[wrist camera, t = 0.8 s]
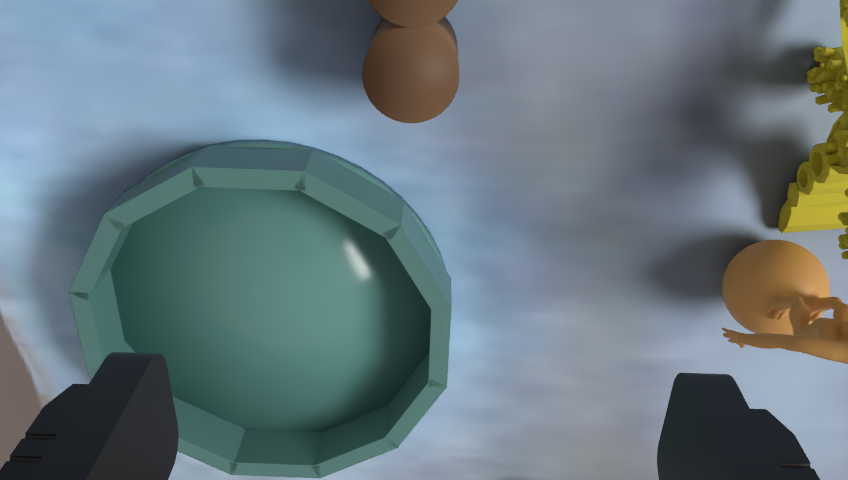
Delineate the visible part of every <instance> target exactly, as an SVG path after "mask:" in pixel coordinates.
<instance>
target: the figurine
mask: <svg viewBox="0 0 848 480" xmlns="http://www.w3.org/2000/svg"><path fill="white" fill-rule="evenodd" d="M722 293H723V298H724V302H725V304H726V307H727V309H728V311H729V312H730V314H731V315H732V316H733V318H734V319H735V320H736V321H737V322H738V323H739V324H741V325H742V326H743V327H745V328H746V329H748V330H750V331H752V332H754V333H756V334H744V333H739V332H736V331H733V330H728V329H725V328H722V329H723V330H724V331H725V332H726V333H724V334H723V336H724V337H727V338H730V340H728V341H729V342H732V343H737V344H738V345H740V348H743V347H744V344H746V345H751V346H754V347H759V348H768V349H771V348H782V349H786V350H790V351H797V352H802V353H807V354H810V355H813V356H816V357H820V358H824V359H827V360H831V361H837V362H842V363H846V364H848V305H847V304H844V303H843V302H842V301H841V300H840V299H839V298H837V297H829V296H830V284H829V279H828V276H827V273H826V271H825V269H824V267H823V265H822V264H821V262H820V261H819V260H818V259H817V258H816V257H815V256H814V255H813V254H812V253H811V252H810V251H808V250H807V249H805V248H804V247H802V246H800V245H797V244H795V243H792V242H788V241H783V240H766V241H761V242H757V243H754V244H752V245H750V246H748V247H746V248H744V249H743V250H741V251H740V252H739V253H738V254H737V255H735V257H734V258H733V259H732V260H731V261H730V263H729V264H728V266H727V268H726V270H725V273H724V276H723V282H722ZM829 309H834V313H833V317H834V319H831V318H829V319H828V318H820V317H821V316H822V315H823V313H824V311H826V310H829Z"/></svg>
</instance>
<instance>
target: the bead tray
mask: <svg viewBox="0 0 848 480" xmlns="http://www.w3.org/2000/svg"><path fill="white" fill-rule="evenodd" d="M69 296H70V300H71V304H72V309H73V313H74V317H75V321H76V326H77V330H78V334H79V339H80V343H81V347H82V351H83V356H84V360H85V364H86V369H87V373H88V375H89V376H90V377H91V378H93V377H94V375H95V374H96V372H97V370H98V369H99V367H100V366H101V364H102V363H103V361H104V359H105V358H106V357H107V356H108V355H109V354H110V353H112V352H128V353H158V354H162V355H163V357H164V358H165V361H166V364H167V369H168V374H169V380H170V385H171V390H172V396H173V401H174V407H175V412H176V417H177V423H178V431H179V439H178V449H177V451H178V452H180V453H183V454H185V455H187V456H189V457H192V458H194V459H196V460H199V461H201V462H203V463H205V464H208V465H210V466H212V467H215V468H217V469H219V470H221V471H224V472H226V473H228V474H231V475H250V476H276V477H302V478H322V477H324V476H327V475H329V474H332V473H335V472H337V471H340V470H342V469H345V468H347V467H350V466H352V465H355V464H357V463H360V462H363V461H365V460H368V459H370V458H373V457H375V456H378V455H380V454H383V453H386V452H388V451H391V450H393V449H396V448H398V447H399V445H400V444H401V443H402V442H403V440H404V439H405V438H406V437H407V436H408V434H409V433H410V432H411V431H412V429H413V428H414V427H415V426H416V424H417V423H418V422H419V421H420V419H421V418H422V417H423V416H424V415H425V413H426V412H427V411H428V410H429V408H430V407H431V406H432V405H433V403H434V402H435V401H436V400H437V398H438V397H439V396H440V395H441V394H442V392H443V391H444V390H445V389H446V387H447V374H448V355H449V337H450V321H451V278H450V276H449V274H448V273H447V271H446V268H445V265H444V262H443V259H442V256H441V253H440V251H439V249H438V247H437V245H436V243H435V241H434V239H433V237H432V235H431V233H430V232H429V230H428V229H427V227H426V226H425V225H424V223H423V222H422V220H421V219H420V217H419V216H418V215H417V213H416V212H415V211H414V210H413V209H412V208H411V207H410V206H409V205H408V204H407V202H406V201H405V200H404V199H403V198H402V197H401V196H400V195H399V194H397V193H396V192H395V191H394V190H393V189H391V188H390V187H389V186H388V185H387V184H385V183H384V182H383V181H382V180H380V179H379V178H377V177H376V176H374V175H372V174H371V173H369V172H368V171H366V170H365V169H363V168H362V167H360V166H358V165H355V164H353V163H351V162H349V161H347V160H345V159H343V158H341V157H339V156H336V155H334V154H331V153H328V152H325V151H322V150H319V149H316V148H313V147H308V146H304V145H299V144H295V143H290V142H281V141H270V140H240V141H232V142H226V143H219V144H213V145H210V146H207V147H203V148H200V149H197V150H193V151H190V152H188V153H186V154H184V155H181V156H179V157H177V158H175V159H173V160H170V161H169V162H167V163H166V164H164V165H162V166H161V167H159V168H158V169H156V170H155V171H153V172H152V173H150V174H149V175H148V176H147V177H146V178H145V179H144V180H142V181H141V182H140V183H139V184H137V185H135V186H133V187H131V188H130V189H128V190H126V191H125V192H124V193H123V194H122V195H121V196H120V197H119V198H118V199H117V201H116V202H115V203H114V204H113V205H112V206H111V207H110V208H109V209H108V210H107V211H106V213H105V214H104V216H103V218H102V220H101V222H100V224H99V227H98V229H97V231H96V233H95V235H94V237H93V240H92V242H91V244H90V246H89V248H88V251H87V253H86V255H85V257H84V259H83V262H82V264H81V266H80V268H79V270H78V273H77V275H76V277H75V279H74V281H73V284H72V286H71V288H70V290H69Z"/></svg>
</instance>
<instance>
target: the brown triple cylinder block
mask: <svg viewBox="0 0 848 480" xmlns="http://www.w3.org/2000/svg"><path fill="white" fill-rule="evenodd" d="M368 1H369V2H370V4H371V5H372V7H373V8H374V9H375V10H376V12H378V13H379V14H380V15H381V16H382V17H383V19H382V20H381V21H380V23H379V24H378V26H377V28H376V31H375V33H374V36H373V39H372V41H371V44H370V47H369V50H368V52H367V55H366V58H365V61H364V65H363V73H362V77H363V84H364V89H365V91H366V94H367V96H368V98H369V100H370V101H371V103H372V104H373V105H374V106H375V107H376V109H377V110H379V111H380V112H381V113H382V114H384V115H385V116H387V117H389V118H391V119H393V120H396V121H399V122H404V123H419V122H424V121H427V120H430V119H432V118H434V117H436V116H438V115H439V114H440V113H442V112H443V111H444V110H445V109H446V108H447V107H448V106H449V104H450V103H451V102H452V100H453V98H454V96H455V94H456V91H457V88H458V83H459V65H458V51H457V40H456V36H455V32H454V30H453V28H452V26H451V24H450V22H449V21H448V20H447V19H446V18H445V16H446V15H447V14H448V13H449V12H450V11H451V10H452V9H453V7H454V6H455V4H456V3H457V1H458V0H368Z"/></svg>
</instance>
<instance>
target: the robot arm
mask: <svg viewBox="0 0 848 480" xmlns="http://www.w3.org/2000/svg"><path fill="white" fill-rule="evenodd" d="M25 434H26V436H25V439H21V441H20V442H19V444H18V445H17V447H16V448H15V449H14V451H13V452H12V454H11V455H10V461H9V462H8V461H7V462H6V463H5V464H4V465H3V467H2V468H1V470H0V480H168V478H169V476H170V473H171V471H172V468H173V466H174V463H175V459H176V455H177V449H178V439H179V431H178V423H177V417H176V412H175V407H174V401H173V396H172V390H171V385H170V380H169V374H168V369H167V364H166V361H165V358H164V357H163V355H162V354H158V353H128V352H112V353H110V354H109V355H108V356H107V357H106V358H105V359H104V361H103V363H102V364H101V366H100V367H99V369H98V370H97V372H96V374H95V375H94V377H93V378H92V380H91V381H90V383H89V384H72V385H71V386H70V387H69V388H67V389H66V390H65V391H63V392H62V393H61V394H60V395H58V396H57V397H56V398H54V399H53V400H52V401H50V402H49V403H48V404H47V405H45V406H44V407H43V409H42V410H41V412H40V413H39V415H38V416H37V417H36V419H35V420H34V422H33V423H32V425H31V426H30V428H29V429H28V430H27V432H26V433H25ZM657 465H658V475H659V480H820V479H819V477H818V475H817V474H816V472H815V470H814V469H811V467H810V461H809V460H808V458H807V456H806V454H805V453H804V451H803V449H802V447H801V446H800V444H799V442H798V441H797V439H796V437H795V435H794V434H793V433H792V432H791V431H790V430H789V429H787V428H786V427H785V426H784V425H783V424H782V423H781V422H780V421H779V420H777V419H776V418H775V417H774V416H773V415H772V414H771V413H770V412H769V411H767V410H766V409H749V407H748V405H747V403H746V401H745V399H744V397H743V395H742V393H741V391H740V389H739V387H738V386H737V384H736V382H735V380H734V379H733V378H732V377H731V376H730V375H727V374H699V373H679V374H678V375H677V376H676V378H675V380H674V383H673V387H672V391H671V395H670V399H669V404H668V408H667V412H666V416H665V420H664V424H663V428H662V432H661V436H660V440H659V445H658V454H657Z"/></svg>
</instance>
